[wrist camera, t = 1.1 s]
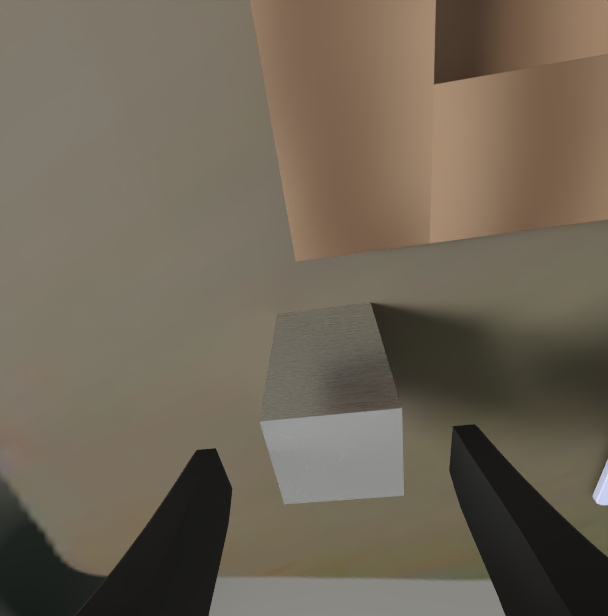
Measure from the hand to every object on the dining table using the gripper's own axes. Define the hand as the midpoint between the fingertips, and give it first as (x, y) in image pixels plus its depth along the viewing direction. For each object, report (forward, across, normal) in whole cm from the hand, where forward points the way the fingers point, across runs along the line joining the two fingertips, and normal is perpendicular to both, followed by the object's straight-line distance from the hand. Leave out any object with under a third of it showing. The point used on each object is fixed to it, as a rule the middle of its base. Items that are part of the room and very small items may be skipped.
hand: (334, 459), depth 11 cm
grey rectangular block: (+6, 0, 0) cm, 6 cm away
